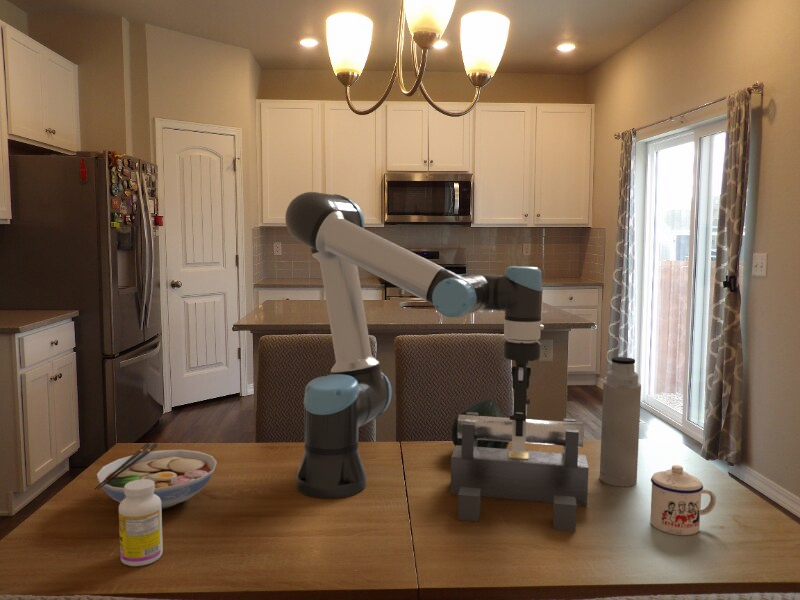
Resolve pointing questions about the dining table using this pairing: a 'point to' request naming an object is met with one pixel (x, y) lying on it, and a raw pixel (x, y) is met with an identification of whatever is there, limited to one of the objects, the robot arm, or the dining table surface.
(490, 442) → the squash
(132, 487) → the supplement bottle
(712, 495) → the teacup with lid
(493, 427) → the tube
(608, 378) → the thermos bottle
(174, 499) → the ramen bowl
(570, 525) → the posts
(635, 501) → the dining table surface
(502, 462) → the grey cradle stand
